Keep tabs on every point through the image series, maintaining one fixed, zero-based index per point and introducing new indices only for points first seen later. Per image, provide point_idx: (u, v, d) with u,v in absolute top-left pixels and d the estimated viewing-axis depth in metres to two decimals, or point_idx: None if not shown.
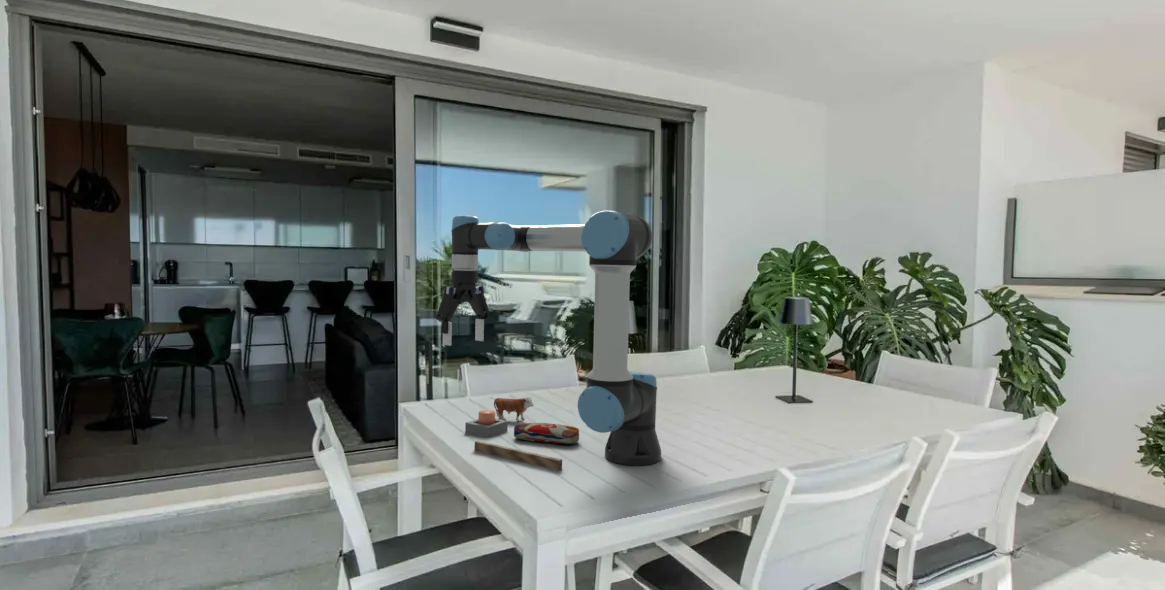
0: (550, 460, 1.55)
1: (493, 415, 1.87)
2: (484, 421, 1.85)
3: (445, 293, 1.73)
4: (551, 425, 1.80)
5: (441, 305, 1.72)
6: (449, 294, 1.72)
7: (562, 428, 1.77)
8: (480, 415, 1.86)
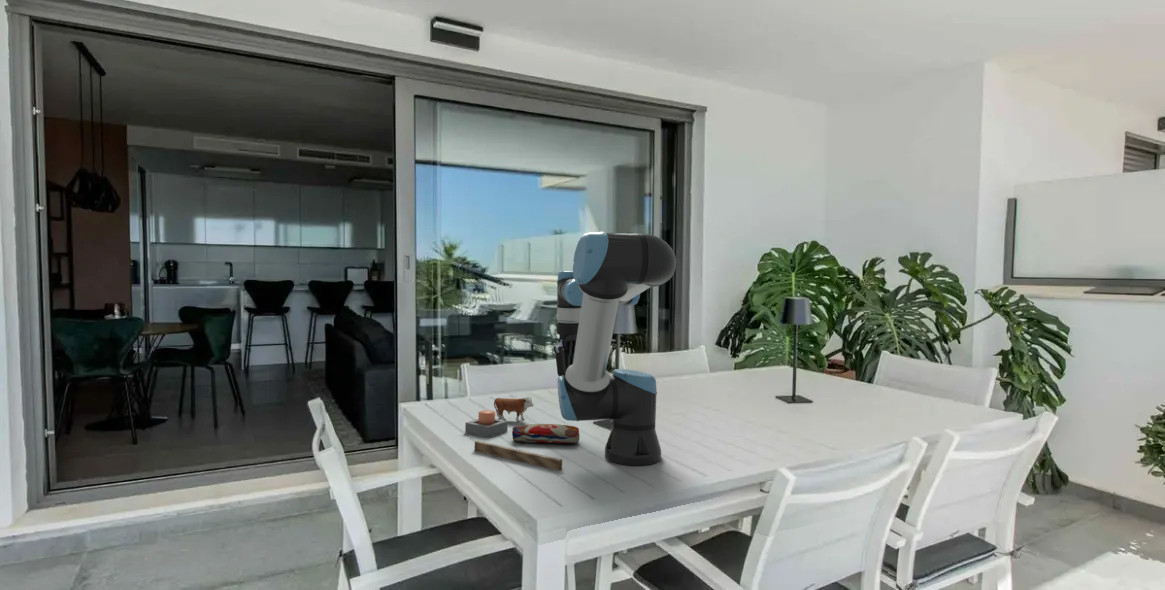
0: (550, 460, 1.55)
1: (493, 415, 1.87)
2: (484, 421, 1.85)
3: (556, 352, 1.84)
4: (550, 425, 1.79)
5: (557, 363, 1.85)
6: (560, 353, 1.83)
7: (563, 428, 1.78)
8: (480, 415, 1.86)
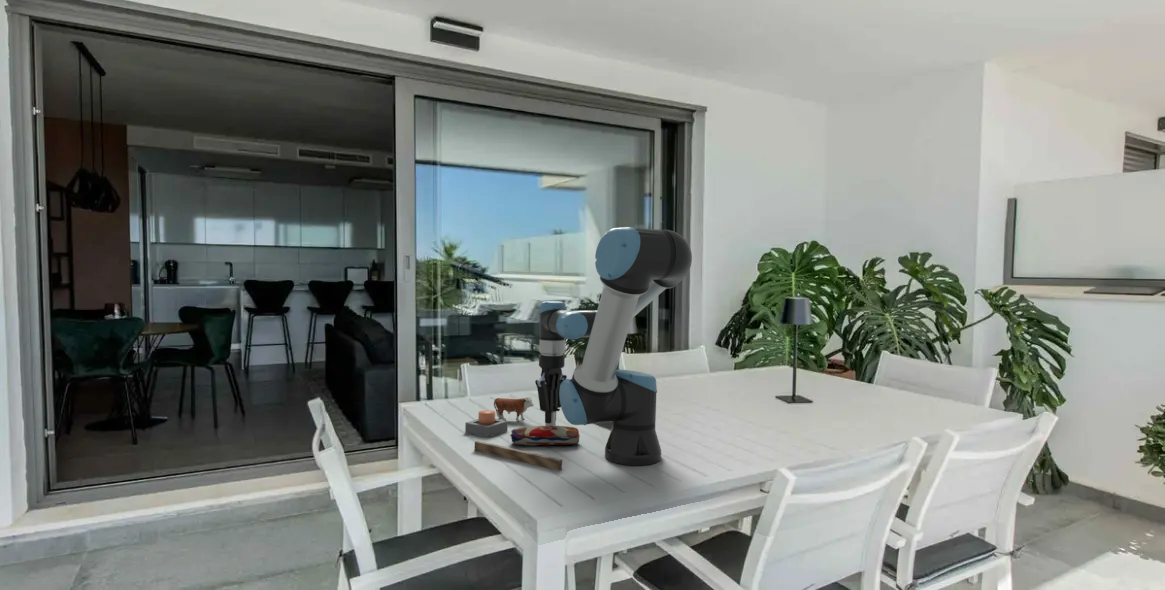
0: (550, 460, 1.55)
1: (493, 415, 1.87)
2: (484, 421, 1.85)
3: (538, 386, 1.77)
4: (550, 427, 1.77)
5: (539, 398, 1.78)
6: (542, 388, 1.76)
7: (563, 429, 1.76)
8: (480, 415, 1.86)
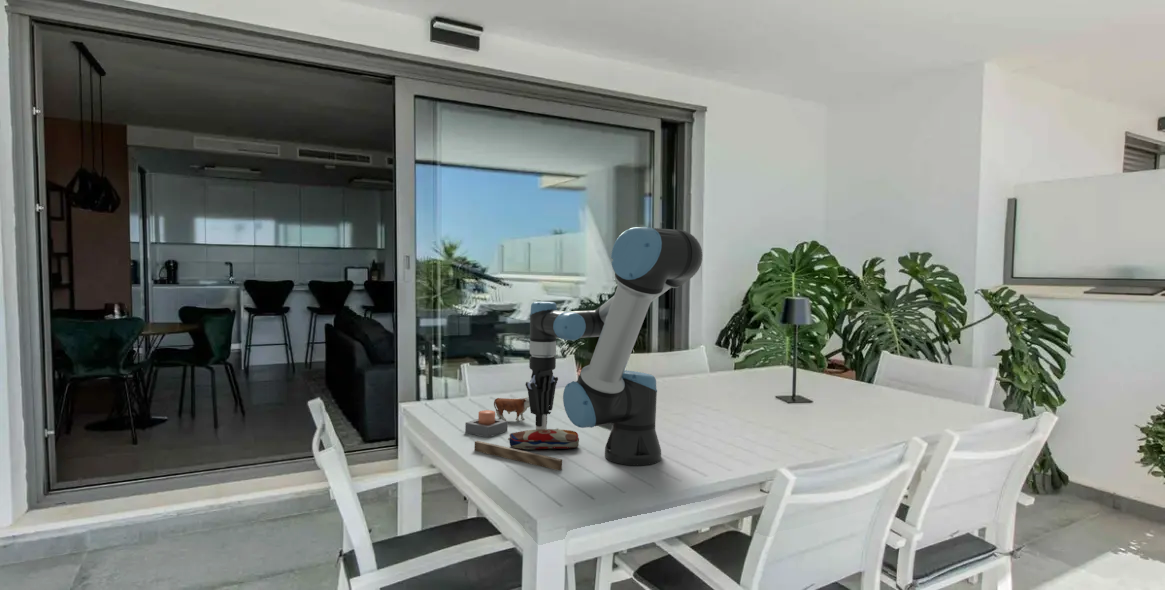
0: (550, 460, 1.55)
1: (493, 415, 1.87)
2: (484, 421, 1.85)
3: (528, 389, 1.73)
4: (549, 431, 1.73)
5: (530, 400, 1.74)
6: (533, 390, 1.72)
7: (562, 433, 1.73)
8: (480, 415, 1.86)
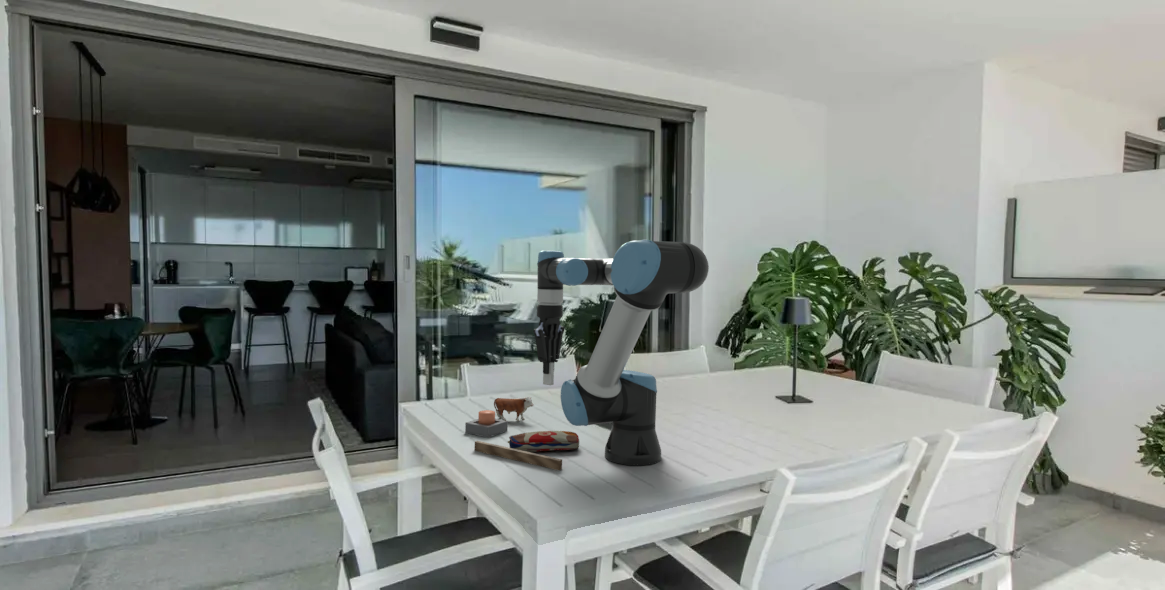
0: (550, 460, 1.55)
1: (493, 415, 1.87)
2: (484, 421, 1.85)
3: (536, 336, 1.75)
4: (549, 432, 1.72)
5: (537, 348, 1.76)
6: (541, 337, 1.75)
7: (563, 434, 1.71)
8: (480, 415, 1.86)
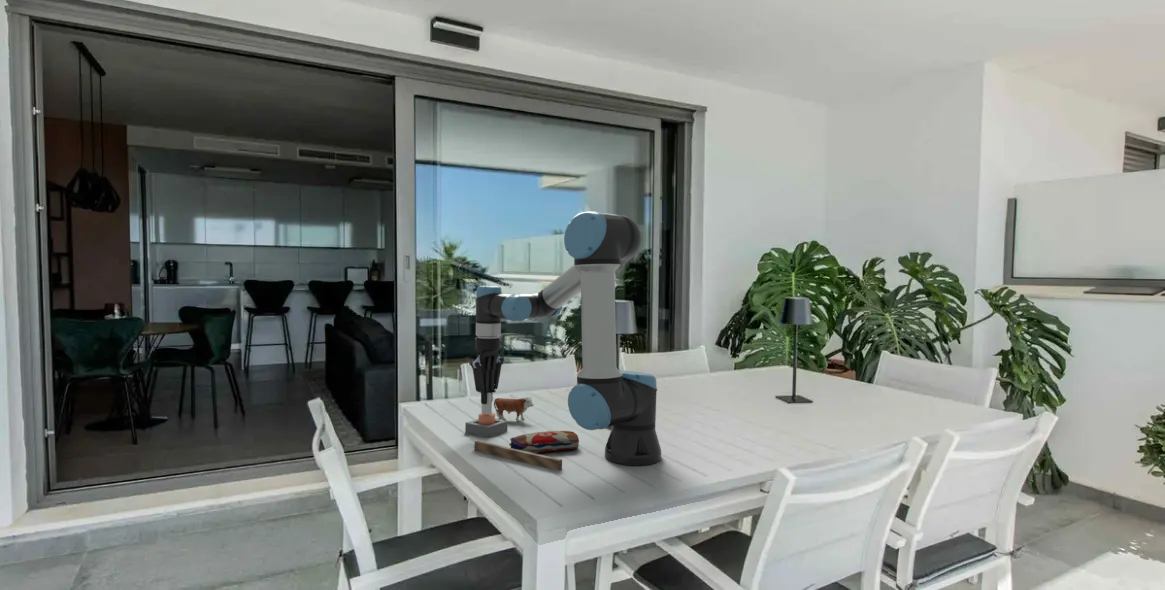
0: (550, 460, 1.55)
1: (493, 417, 1.87)
2: (484, 423, 1.85)
3: (473, 368, 1.83)
4: (549, 433, 1.71)
5: (475, 379, 1.84)
6: (477, 369, 1.82)
7: (563, 434, 1.72)
8: (480, 417, 1.86)
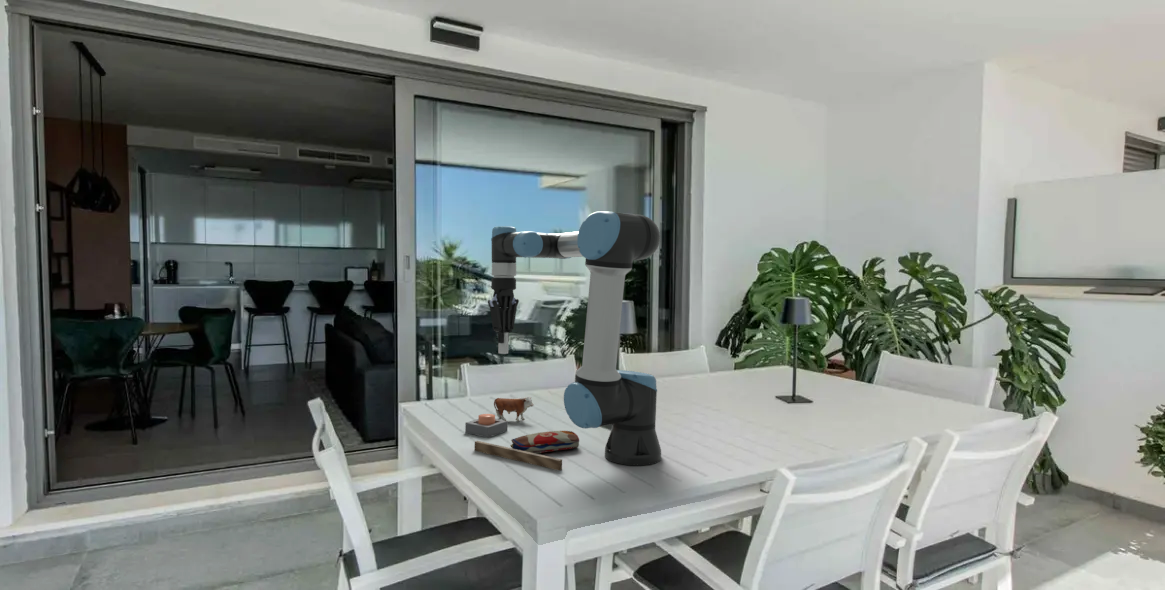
0: (550, 460, 1.55)
1: (493, 419, 1.87)
2: (484, 424, 1.85)
3: (490, 306, 1.86)
4: (549, 433, 1.71)
5: (492, 318, 1.87)
6: (495, 307, 1.85)
7: (564, 434, 1.72)
8: (480, 419, 1.86)
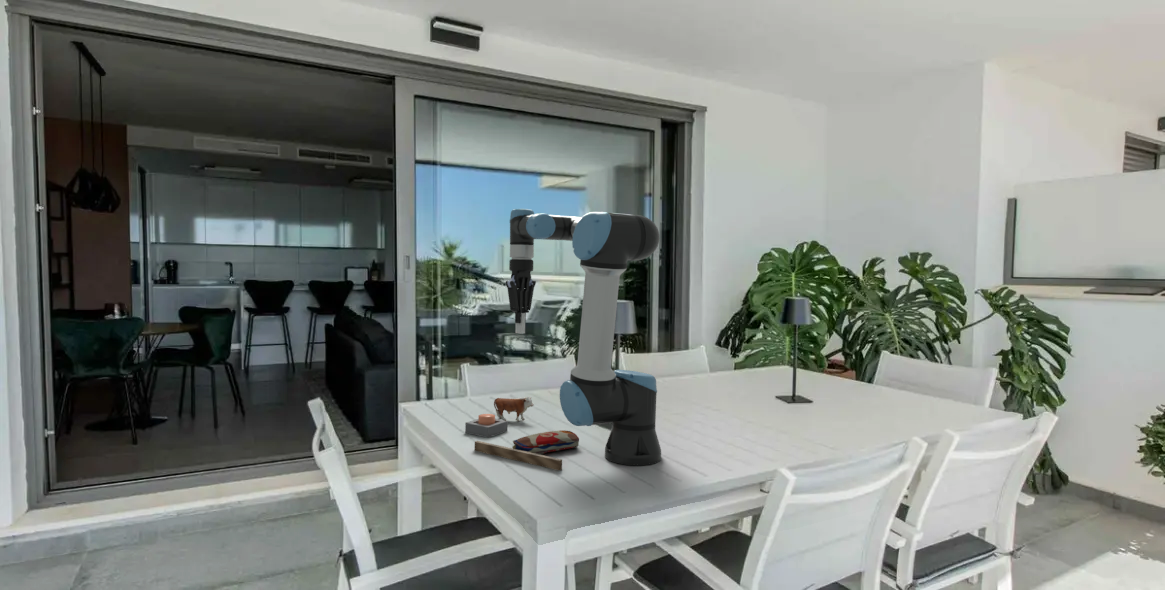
0: (550, 460, 1.55)
1: (493, 419, 1.87)
2: (484, 424, 1.85)
3: (508, 287, 1.90)
4: (550, 433, 1.71)
5: (509, 298, 1.91)
6: (512, 288, 1.90)
7: (563, 433, 1.72)
8: (480, 419, 1.86)
